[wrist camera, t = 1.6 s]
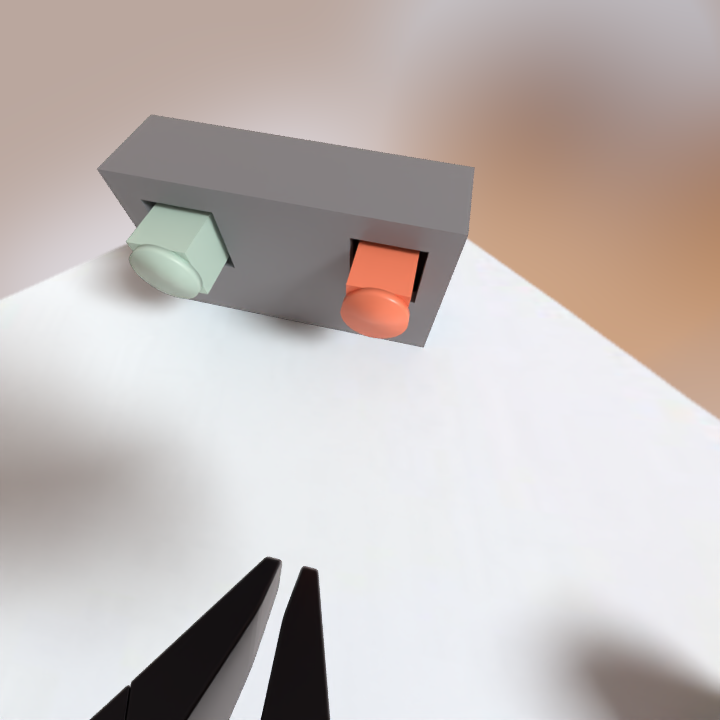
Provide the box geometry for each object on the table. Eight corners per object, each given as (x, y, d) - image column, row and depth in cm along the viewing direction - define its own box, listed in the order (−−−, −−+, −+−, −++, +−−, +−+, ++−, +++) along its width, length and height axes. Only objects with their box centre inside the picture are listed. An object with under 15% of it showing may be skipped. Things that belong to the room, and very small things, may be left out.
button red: (402, 343, 21) (413, 304, 18) (340, 330, 21) (339, 289, 18) (413, 288, 23) (424, 243, 20) (356, 277, 23) (358, 231, 20)
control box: (423, 347, 28) (468, 235, 17) (184, 298, 29) (97, 168, 19) (431, 291, 30) (474, 167, 20) (213, 249, 32) (150, 114, 22)
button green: (208, 303, 22) (181, 258, 18) (151, 292, 22) (114, 245, 19) (235, 254, 24) (216, 205, 21) (183, 244, 24) (155, 194, 21)
